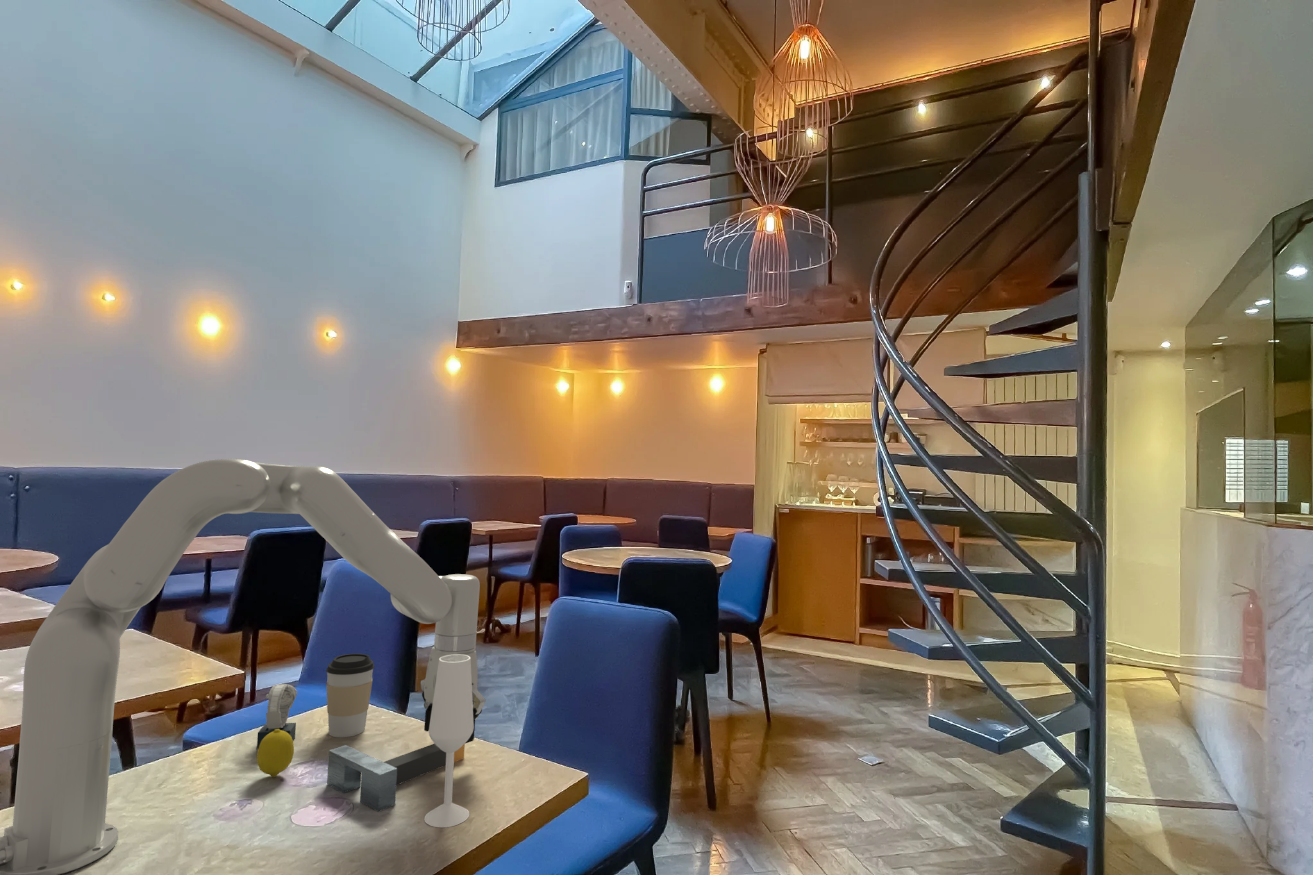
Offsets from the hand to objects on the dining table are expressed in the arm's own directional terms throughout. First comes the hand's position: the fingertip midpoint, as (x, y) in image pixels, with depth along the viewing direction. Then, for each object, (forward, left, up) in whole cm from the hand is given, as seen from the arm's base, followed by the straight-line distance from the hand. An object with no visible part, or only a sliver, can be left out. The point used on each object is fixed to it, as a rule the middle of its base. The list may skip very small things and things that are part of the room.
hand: (448, 735), depth 124 cm
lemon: (-23, +17, -5) cm, 29 cm away
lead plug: (-6, 0, -4) cm, 7 cm away
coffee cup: (-4, +27, -5) cm, 27 cm away
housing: (-17, 0, -4) cm, 18 cm away
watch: (-16, +31, -5) cm, 35 cm away
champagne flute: (-13, -17, -5) cm, 22 cm away
